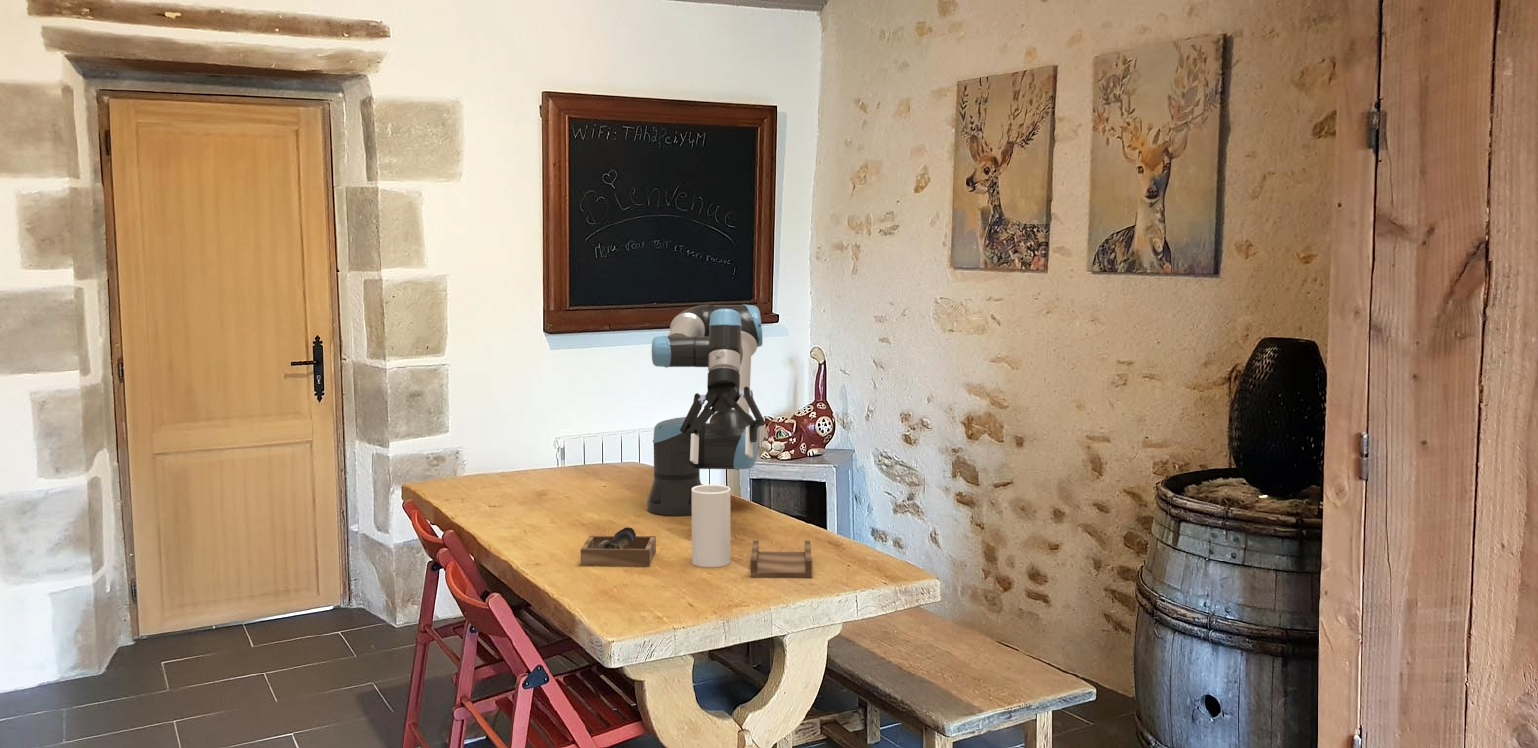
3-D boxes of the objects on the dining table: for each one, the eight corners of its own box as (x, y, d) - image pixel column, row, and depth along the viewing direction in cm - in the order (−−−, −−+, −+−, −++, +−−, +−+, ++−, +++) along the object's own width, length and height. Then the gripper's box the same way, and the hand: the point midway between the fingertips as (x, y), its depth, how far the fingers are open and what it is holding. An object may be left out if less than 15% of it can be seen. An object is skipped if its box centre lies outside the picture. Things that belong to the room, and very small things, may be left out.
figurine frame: (590, 551, 252) (589, 535, 251) (655, 551, 251) (655, 536, 251) (580, 566, 240) (580, 549, 240) (649, 566, 240) (649, 550, 240)
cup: (696, 568, 238) (696, 493, 237) (688, 558, 246) (687, 485, 244) (734, 565, 241) (734, 491, 239) (725, 555, 249) (725, 483, 247)
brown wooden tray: (753, 555, 248) (753, 540, 248) (810, 556, 248) (810, 540, 248) (750, 577, 232) (750, 560, 232) (811, 577, 232) (811, 561, 232)
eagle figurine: (638, 559, 241) (644, 541, 250) (619, 533, 240) (625, 515, 248) (609, 577, 243) (615, 558, 251) (590, 551, 241) (596, 533, 250)
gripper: (668, 373, 267) (664, 460, 259) (767, 359, 259) (766, 447, 250) (682, 385, 274) (678, 469, 265) (779, 371, 265) (778, 458, 257)
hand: (721, 459), depth 258 cm, fingers open, 13 cm apart
